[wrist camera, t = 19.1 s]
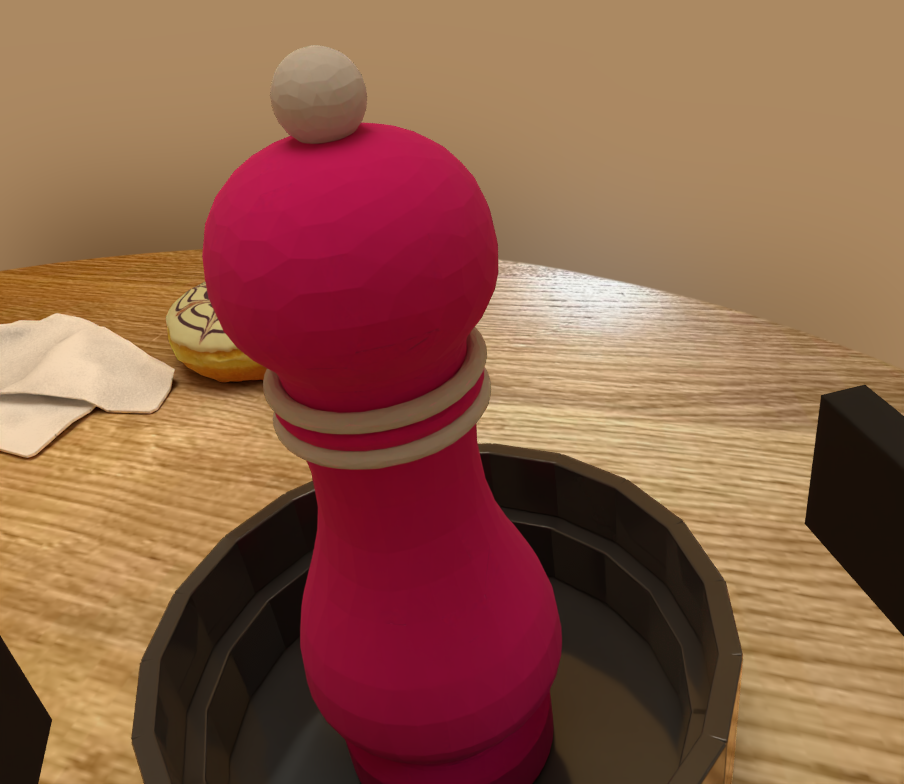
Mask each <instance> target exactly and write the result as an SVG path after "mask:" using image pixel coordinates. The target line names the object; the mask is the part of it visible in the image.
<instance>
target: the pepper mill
mask: <svg viewBox="0 0 904 784" xmlns="http://www.w3.org/2000/svg"><path fill="white" fill-rule="evenodd" d="M270 97H271V104H272V108H273V111H274V114H275V116H276V118H277V120H278V122H279V123H280V124H281V125H282V127H283V128H284V129H285V131H286V132H287V133H288V134H289V135H291V136H289V137H287V138H284V139H281V140H279V141H277V142H274V143H272V144H271V145H269V146H267V147H266V148H264V149H262V150H261V151H259V152H258V153H256V154H254V155H252V156H251V157H250V158H249V159H248V160H246V161H245V162H244V163H243V164H242V165H241V166H240V167H239V168H237V169H236V170H235V171H234V172H233V174H232V175H231V176H230V178H229V179H228V181H227V182H226V184H225V185H224V186H223V187H222V189H221V190H220V191H219V193H218V194H217V196H216V197H215V199H214V202H213V205H212V207H211V210H210V213H209V215H208V218H207V221H206V223H205V232H204V244H203V255H202V257H203V266H204V274H205V282H206V287H207V293H208V298H209V300H210V302H211V305H212V307H213V309H214V311H215V313H216V316H217V318H218V320H219V322H220V325H221V327H222V329H223V331H224V332H225V334H226V335H227V336H228V337H229V338H230V340H231V341H232V342H233V343H234V345H235V346H236V347H237V348H238V349H239V350H240V351H242V352H243V353H244V354H245V355H247V356H248V357H249V358H250V359H252V360H253V361H254V362H256V363H258V364H260V365H262V366H264V367H266V368H267V370H266V372H265V374H264V380H263V389H264V395H265V398H266V401H267V402H268V404H269V406H270V407H271V409H272V410H273V411H274V413H273V425H274V429H275V431H276V434H277V436H278V438H279V440H280V441H281V442H282V443H283V444H284V445H285V447H286V448H287V449H288V450H289V451H291V452H292V453H294V454H295V455H296V456H298V457H300V458H302V459H304V460H306V461H307V463H308V465H309V468H310V470H311V473H312V478H313V483H314V489H315V494H316V499H317V504H318V525H317V534H316V540H315V545H314V551H313V556H312V560H311V564H310V568H309V572H308V576H307V580H306V585H305V589H304V594H303V600H302V605H301V625H300V648H301V653H302V658H303V663H304V668H305V673H306V678H307V683H308V686H309V689H310V692H311V695H312V698H313V700H314V701H315V703H316V705H317V707H318V708H319V710H320V712H321V714H322V715H323V717H324V718H325V720H326V721H327V722H328V723H329V724H330V725H331V726H332V727H333V728H334V729H335V730H336V731H337V732H338V733H339V734H340V735H341V736H342V737H343V738H344V739H345V741H346V744H347V747H348V750H349V753H350V756H351V759H352V762H353V765H354V769H355V771H356V773H357V776H358V778H359V780H360V781H361V783H362V784H532V783H533V782H534V781H535V780H536V778H537V777H538V776H539V774H540V772H541V770H542V769H543V767H544V765H545V763H546V760H547V758H548V756H549V753H550V749H551V745H552V740H553V730H554V729H553V713H552V705H551V696H550V688H551V686H552V684H553V682H554V680H555V678H556V674H557V670H558V666H559V662H560V658H561V650H562V630H561V623H560V619H559V614H558V609H557V605H556V601H555V596H554V592H553V588H552V585H551V583H550V581H549V579H548V577H547V575H546V573H545V571H544V569H543V567H542V565H541V563H540V561H539V559H538V557H537V555H536V554H535V552H534V551H533V549H532V548H531V546H530V545H529V543H528V542H527V541H526V539H525V538H524V537H523V536H522V534H521V533H520V532H519V530H518V529H517V528H516V527H515V525H514V524H513V523H512V522H511V521H510V520H509V519H508V518H507V517H506V515H505V514H504V512H503V511H502V510H501V508H500V507H499V505H498V504H497V502H496V501H495V499H494V497H493V495H492V492H491V490H490V488H489V485H488V483H487V481H486V479H485V474H484V470H483V466H482V461H481V457H480V452H479V448H478V444H477V430H476V423H477V422H478V420H479V419H480V417H481V416H482V414H483V413H484V411H485V410H486V408H487V406H488V404H489V399H490V395H491V381H490V377H489V375H488V372H487V370H486V368H485V363H486V359H487V349H486V344H485V341H484V339H483V337H482V335H481V334H480V332H479V331H478V330H477V329H476V328H475V326H476V324H477V323H478V322H479V320H480V319H481V318H482V316H483V314H484V312H485V310H486V308H487V306H488V303H489V301H490V299H491V297H492V295H493V292H494V290H495V286H496V281H497V276H498V243H497V238H496V234H495V230H494V226H493V221H492V217H491V213H490V209H489V206H488V204H487V201H486V199H485V198H484V195H483V193H482V192H481V190H480V188H479V186H478V184H477V182H476V180H475V178H474V177H473V175H472V174H471V173H470V172H469V171H468V170H467V168H465V166H464V165H463V164H462V163H461V162H460V161H459V160H458V159H457V158H456V157H455V156H454V155H453V154H451V153H450V152H449V151H448V150H447V149H446V148H444V147H443V146H441V145H440V144H438V143H436V142H434V141H432V140H430V139H428V138H426V137H424V136H422V135H420V134H418V133H416V132H414V131H410V130H407V129H403V128H400V127H396V126H391V125H384V124H375V123H361V121H362V120H363V117H364V114H365V111H366V104H367V93H366V87H365V84H364V81H363V78H362V75H361V73H360V72H359V70H358V69H357V68H356V66H355V65H354V63H353V62H352V61H351V60H350V59H349V58H348V57H347V56H345V55H344V54H342V53H341V52H339V51H337V50H334V49H331V48H328V47H323V46H308V47H304V48H301V49H298V50H296V51H294V52H293V53H291V54H289V55H287V56H286V58H285V59H284V60H283V61H282V62H281V63H280V64H279V66H278V67H277V69H276V71H275V73H274V77H273V80H272V84H271V92H270Z"/></svg>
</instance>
